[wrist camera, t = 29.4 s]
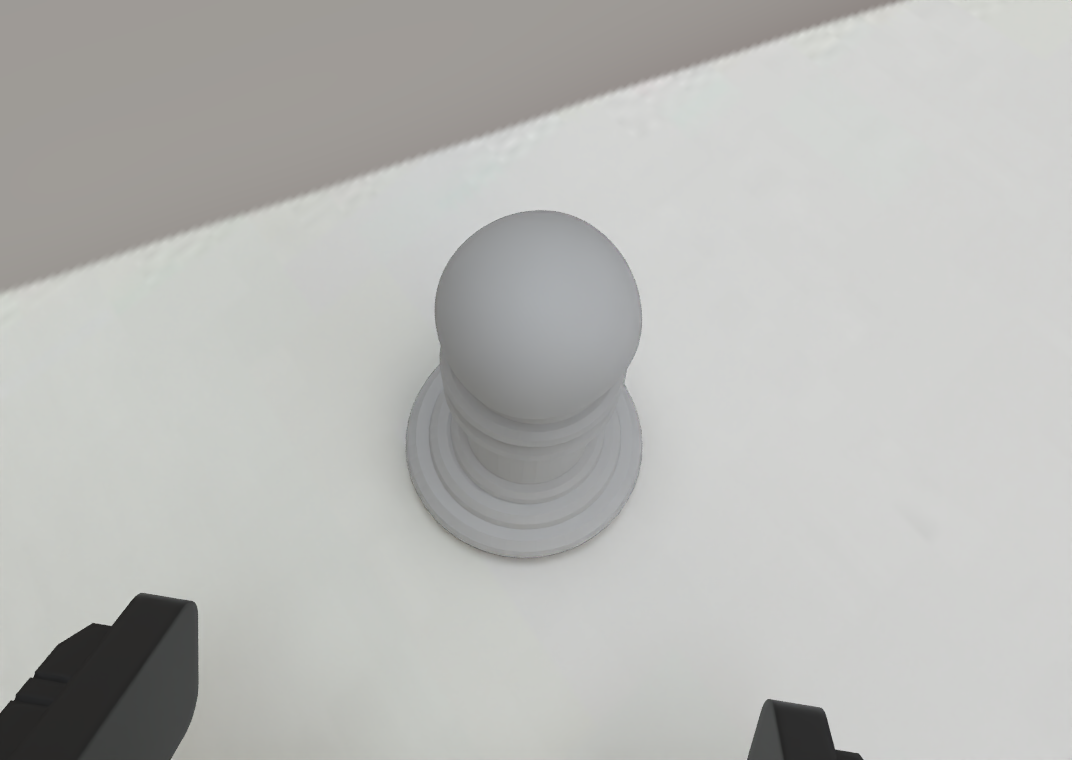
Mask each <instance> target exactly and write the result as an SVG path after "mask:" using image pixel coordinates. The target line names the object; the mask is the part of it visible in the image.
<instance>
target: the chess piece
mask: <svg viewBox="0 0 1072 760" xmlns="http://www.w3.org/2000/svg"><path fill="white" fill-rule="evenodd" d="M435 322H436V329H437V334H438V338H439V341H440V345H441V348H440V365H439V366H438V367H437V368H436V369H435V370H434V371H433V373H432V374H431V375H430V376H429V377H428V379H427V380H426V382H425V384H424V385H423V387H422V388H421V390H420V392H419V393H418V395H417V398H416V400H415V402H414V404H413V407H412V410H411V413H410V417H409V420H408V426H407V432H406V455H407V463H408V468H409V472H410V475H411V479H412V482H413V484H414V486H415V489H416V491H417V494H418V495H419V497H420V499H421V500H422V502H423V504H424V505H425V507H426V508H427V509H428V511H429V512H430V513H431V514H432V516H433V517H434V518H435V519H436V520H437V521H438V522H439V523H440V524H441V525H442V526H443V527H444V528H445V529H446V530H447V531H449V532H450V533H451V534H453V535H454V536H456V537H457V538H458V539H460V540H462V541H464V542H465V543H467V544H469V545H471V546H473V547H475V548H478V549H480V550H483V551H486V552H488V553H493V554H497V555H501V556H507V557H516V558H533V557H542V556H548V555H554V554H557V553H560V552H564V551H567V550H569V549H572V548H574V547H576V546H578V545H580V544H583V543H584V542H586V541H587V540H589V539H591V538H592V537H594V536H595V535H597V534H598V533H599V532H600V531H602V530H603V529H604V528H605V527H606V526H608V525H609V523H610V522H611V521H612V520H613V519H614V518H615V517H616V516H617V515H618V514H619V512H620V511H621V509H622V508H623V506H624V505H625V503H626V502H627V500H628V498H629V496H630V494H631V492H632V490H633V489H634V486H635V483H636V480H637V477H638V474H639V470H640V465H641V459H642V433H641V426H640V422H639V417H638V414H637V411H636V408H635V405H634V403H633V400H632V398H631V396H630V394H629V393H628V391H627V389H626V387H625V385H624V381H625V376H626V370H627V368H628V366H629V365H630V363H631V361H632V359H633V357H634V355H635V353H636V350H637V347H638V344H639V340H640V336H641V329H642V309H641V302H640V296H639V292H638V288H637V285H636V282H635V279H634V277H633V274H632V272H631V270H630V268H629V266H628V264H627V262H626V261H625V259H624V257H623V256H622V254H621V253H620V252H619V250H618V249H617V248H616V247H615V245H614V244H613V243H612V242H611V241H610V240H609V239H608V238H607V237H606V236H605V235H604V234H603V233H601V232H600V231H599V230H598V229H596V228H595V227H593V226H592V225H590V224H589V223H587V222H585V221H583V220H581V219H579V218H577V217H574V216H572V215H569V214H565V213H561V212H556V211H544V210H538V211H526V212H520V213H516V214H512V215H508V216H505V217H503V218H500V219H498V220H496V221H494V222H492V223H490V224H488V225H486V226H484V227H483V228H481V229H480V230H478V231H477V232H476V233H474V234H473V235H472V236H471V237H469V238H468V239H467V240H466V241H465V242H464V243H463V244H462V245H461V246H460V247H459V248H458V250H457V251H456V252H455V253H454V255H453V256H452V257H451V259H450V260H449V262H448V264H447V265H446V267H445V269H444V271H443V273H442V276H441V278H440V281H439V284H438V288H437V292H436V299H435Z"/></svg>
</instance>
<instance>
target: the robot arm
mask: <svg viewBox="0 0 1072 760" xmlns="http://www.w3.org/2000/svg"><path fill="white" fill-rule="evenodd" d="M197 696H198V610H197V606H196V604H195V602H193V601H188V600H182V599H176V598H170V597H164V596H158V595H152V594H146V593H140V594H138V595H137V596H135V597H134V599H133V600H132V601H131V602H130V603H129V605H128V606H127V607H126V609H125V610H124V611H123V612H122V614H121V615H120V616H119V617H118V619H117V620H116V621H115V623H114V624H113V625H112V626H107V625H101V624H95V623H92V624H91V625H89V626H87V627H86V628H84V629H82V630H81V631H79V632H78V633H76V634H74V635H73V636H71V637H70V638H68V639H66V640H65V641H63V642H61V643H60V644H58V645H57V646H56V648H55V649H54V650H53V651H52V652H51V654H50V655H49V656H48V657H47V658H46V659H45V661H44V662H43V663H42V664H41V665H40V667H39V668H38V669H37V670H36V671H35V675H34V677H33V678H29V680H28V681H27V682H26V683H25V684H24V686H23V687H22V688H21V689H20V690H19V692H18V693H17V694H16V698H15V700H14V701H12V700H11V701H10V702H9V703H8V705H7V706H6V707H5V708H4V709H3V711H2V712H1V713H0V760H170V759H171V758H172V756H173V754H174V753H175V751H176V749H177V747H178V746H179V744H180V742H181V740H182V739H183V737H184V735H185V733H186V731H187V729H188V727H189V725H190V722H191V720H192V716H193V713H194V710H195V706H196V701H197ZM747 760H863V758H862V757H861V756H860V755H859V754H858V753H852V752H846V751H840V750H835V748H834V744H833V740H832V736H831V733H830V729H829V725H828V721H827V717H826V714H825V712H824V710H823V709H822V708H819V707H813V706H807V705H801V704H795V703H789V702H783V701H777V700H771V699H767V700H766V701H765V703H764V705H763V707H762V710H761V713H760V717H759V720H758V724H757V727H756V731H755V734H754V738H753V741H752V744H751V748H750V751H749V755H748V758H747Z"/></svg>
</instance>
